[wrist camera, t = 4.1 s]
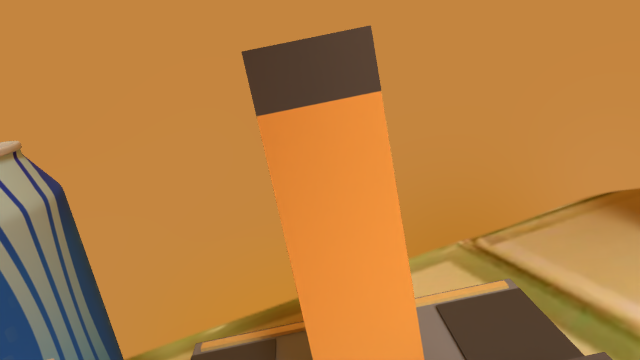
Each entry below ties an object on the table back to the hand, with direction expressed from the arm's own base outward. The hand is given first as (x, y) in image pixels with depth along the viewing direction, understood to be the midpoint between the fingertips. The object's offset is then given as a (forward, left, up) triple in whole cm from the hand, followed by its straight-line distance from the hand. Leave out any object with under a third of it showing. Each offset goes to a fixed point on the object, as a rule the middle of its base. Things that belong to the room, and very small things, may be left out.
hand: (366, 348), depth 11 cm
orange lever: (0, -8, -8) cm, 12 cm away
